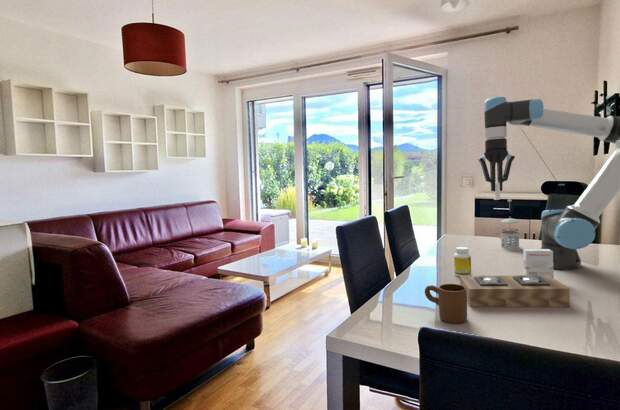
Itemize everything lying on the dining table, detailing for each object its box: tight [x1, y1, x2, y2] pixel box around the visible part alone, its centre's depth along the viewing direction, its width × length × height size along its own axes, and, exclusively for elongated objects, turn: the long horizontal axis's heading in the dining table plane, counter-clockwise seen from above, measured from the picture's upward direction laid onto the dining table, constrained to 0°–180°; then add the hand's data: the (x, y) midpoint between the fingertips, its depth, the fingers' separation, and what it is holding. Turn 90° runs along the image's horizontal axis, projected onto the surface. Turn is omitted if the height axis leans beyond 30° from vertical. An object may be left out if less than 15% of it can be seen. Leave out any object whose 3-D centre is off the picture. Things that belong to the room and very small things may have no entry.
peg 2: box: [523, 277, 539, 282], centre depth 119 cm, size 4×4×6 cm
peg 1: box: [483, 277, 498, 283], centre depth 121 cm, size 4×4×6 cm
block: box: [459, 274, 571, 308], centre depth 120 cm, size 28×14×6 cm, turn 79°
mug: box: [424, 283, 468, 325], centre depth 108 cm, size 12×8×9 cm, turn 51°
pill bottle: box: [453, 246, 472, 278], centre depth 148 cm, size 6×6×11 cm
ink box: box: [522, 248, 555, 279], centre depth 134 cm, size 9×5×12 cm, turn 71°
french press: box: [495, 198, 522, 252], centre depth 185 cm, size 10×12×25 cm
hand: (496, 199), depth 146 cm, fingers closed
